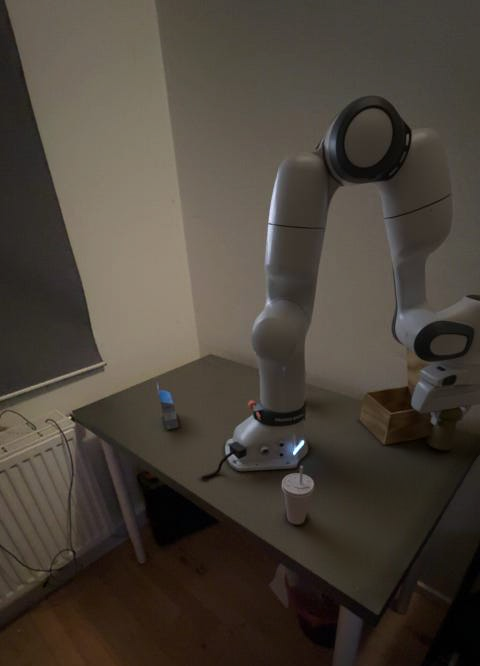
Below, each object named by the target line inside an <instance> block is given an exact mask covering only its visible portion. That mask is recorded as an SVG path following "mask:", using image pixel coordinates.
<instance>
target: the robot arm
mask: <svg viewBox="0 0 480 666" xmlns="http://www.w3.org/2000/svg"><path fill="white" fill-rule="evenodd" d="M362 184H364V185H365V184H372V185H374V187H375V189H377V191H378V195H379V197H380V199H381V204H382V205H381V206H382V207H381V208H382V213H383V221H384V226H385V232H386V236H387V237H386V238H387V242H388V247H389V251H390V257H391V265H392V278H393V288H394V289H393V290H394V298H395V307H394V309H395V310H394V312H393V317H392V320H391V327H390V329H391V335H392V337H393V338H394V340H395V341H396V342H398V343H399V344H401V345H402V346H403V347H405V349H406V348H407V349H409V350H410V351H411V352H412V353H413V354H414V355H416V356H417V357H418V358H420V359H422V360H424V361H427V362H435V363H433V364H431V365H429V366H427V367H424V368H423V369H421V371H420V377H422V379H421V380H419V381H418V383H417V385H416V387H415V390H414V393H413V397H412V401H411V405H412V407H413V408H414V409H415V410H416V411H418V412H419V413H421V414H424V413H429V412H430V413H431V415H432V419H431V423H432V424H434V425H438V424H441V421H442V418H441V417H439V415H438V414H440V413H441V410H447V409H453V408H459V407H460V408H461V410H462V415H461V417H460V418H459V419H458V420H457V422H460V421H463V420H464V417H465V416H466V414H467V413H468V412H469V411H470V410H471V409H472V407H473V406H477V405H480V295H479V294H467V295H464V296H463V297H462V299H460V300H459V301H457V302H456V303H454V304H453V305H451V306H448V307H446V308H445V309H442V310H439V311H437V310H435V309H434V307H433V306H431V304H430V303H429V301H428V299H427V288H426V287H427V285H426V263H427V260H428V258H429V256H431V254H433V253H434V252H435V251H437V250H438V249H439V248H440V247H441V246H442V245H443V243H444V242H445V241H446V239H447V238H448V237H449V235H450V233H451V229H452V223H453V222H452V221H453V211H454V210H453V209H454V208H453V207H454V206H453V193H452V182H451V174H450V168H449V162H448V159H447V154H446V150H445V146H444V143H443V139H442V137H441V135H440V133H439V132H438V131H437V130H435V129H433V128H430V127H418V128H414V129H411V127H410V126H409V125H408V124H407V122H406V121H405V120H404V119H403V118H402V116H401V114H400V113H399V112H398V110H397V109H396V107H395V106H394V105H393V104H392V103H391V102H390V101H389V100H388V99H386V98H384V97H382V96H379V95H365V96H362V97H359V98H356V99H354V100H353V101H351V102H350V103H348V104H347V105H346V106H345V107H344V108H343V109H342V110H341V111H339V112H338V113H337V114H336V115H335V117H334V118H333V119H332V120H331V122H330V124H329V125H328V128H327V129H326V131H325V132H324V134H323V136H322V137H321V140H320V141H319V143H318V145H317V147H316V148H315V149H314V150H312V151H311V150H310V151H307V150H306V151H298V152H294V153H292V154H289V155H288V156H287V157H285V158H284V160H282V161H281V163H280V165H279V166H278V170H277V173H276V176H275V180H274V185H273V189H272V194H271V198H270V199H271V200H270V205H269V213H268V221H267V230H266V231H267V233H266V242H265V254H264V265H263V269H264V273H265V296H266V297H265V305H264V308H263V310H262V311H261V313H259V314H258V316H257V317H256V318H255V320H254V323H253V326H252V329H251V333H250V334H251V335H250V343H251V346H252V349H253V351H254V353H255V358H256V362H257V367H258V372H259V396H260V397H259V398H260V399H259V400H258V402H257V403H256V401H255V400H254V399H250V400H248V402H247V406H248V408H249V409H250V410H251V411H252V415H250V416H249V417H247V418H246V419H245V420H243V421H242V422H241V423H240V424H238V425H236V427H235V428H234V431H233V436H232V437H231V438H229V439H227V440H226V443H225V446H224V454H225V456H224V457H223V458H222V459H221V460H220V461H219V464H218V467H217V469H216V470H215V471H214V472H212V473H209V474H208V473H207V474H205V475H202V476H201V480H205V479H208V478H212V477H215V476H216V475H217V474H219V473H220V472H221V470H222V466H223V465H224V463H225V461H227V462H228V464H229V465H230V466H231V468H233V469H234V470H236V471H238V472H248V471H249V472H250V471H251V472H252V471H269V470H272V471H273V470H286V469H288V470H290V469H295V468H297V467H298V465H299V462H300V461H301V460H302V459H303V458H304V457H305V456H306V455H307V454H308V451H309V445H308V442H307V437H306V431H305V430H306V429H305V421H306V416H307V402H306V399H305V398H306V383H307V382H306V380H307V370H306V355H305V353H306V349H305V347H306V340H307V335H308V332H309V331H310V330H309V329H310V327H311V324H312V320H313V313H314V307H315V302H316V301H315V300H316V294H317V285H318V277H319V269H320V263H321V257H322V251H323V247H324V246H323V245H324V240H325V233H326V227H327V222H328V216H329V215H328V214H329V209H330V207H331V204H332V200H333V198H334V195H335V194H336V192H338V190H339V189H340V188H341V187H344V186H346V187H354V186H359V185H362Z"/></svg>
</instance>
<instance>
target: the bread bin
mask: <svg viewBox="0 0 480 666" xmlns="http://www.w3.org/2000/svg"><path fill="white" fill-rule="evenodd" d="M414 390H415V389H414V388H412V387H411V386H409V385H403V386H396V387H391V388H383V389H376V390H371V391H364V392H363V397H362V405H361V412H360V416H359V417H360V418H359V421H360V423H362V425H363V426H364V427H366V428H367V429H368V431H370V432H371V434H373V435H374V436H375V438H377V439H378V440H379V442H381V443H382V444H383V445H385V446H387V445H392V444H397V443H402V442H409V441H414V440H418V439H424V438H428V437H429V435H430V433H431V431H432V429H433V426H434V424H432V423H431V419H432V415H431V413H430V412H429V413H424V414H421V413H419V412H418V411H416V410H415V409H414V408H413V407H412V405H411V401H412V397H413V393H414Z"/></svg>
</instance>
